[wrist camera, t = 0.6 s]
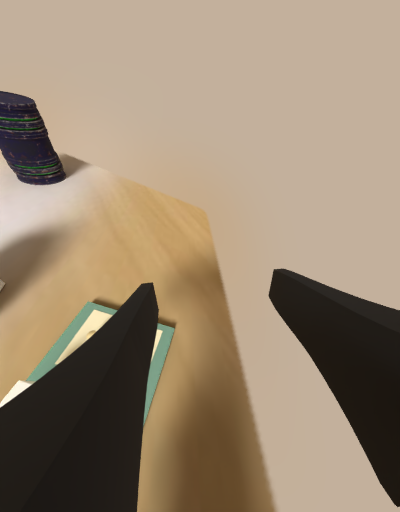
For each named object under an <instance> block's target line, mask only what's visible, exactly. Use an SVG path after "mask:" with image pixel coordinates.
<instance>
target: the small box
mask: <svg viewBox="0 0 400 512" xmlns="http://www.w3.org/2000/svg"><path fill="white" fill-rule="evenodd" d="M4 285H5V282H3V281H2V280H0V291H1V289H2V288H3V286H4Z"/></svg>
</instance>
